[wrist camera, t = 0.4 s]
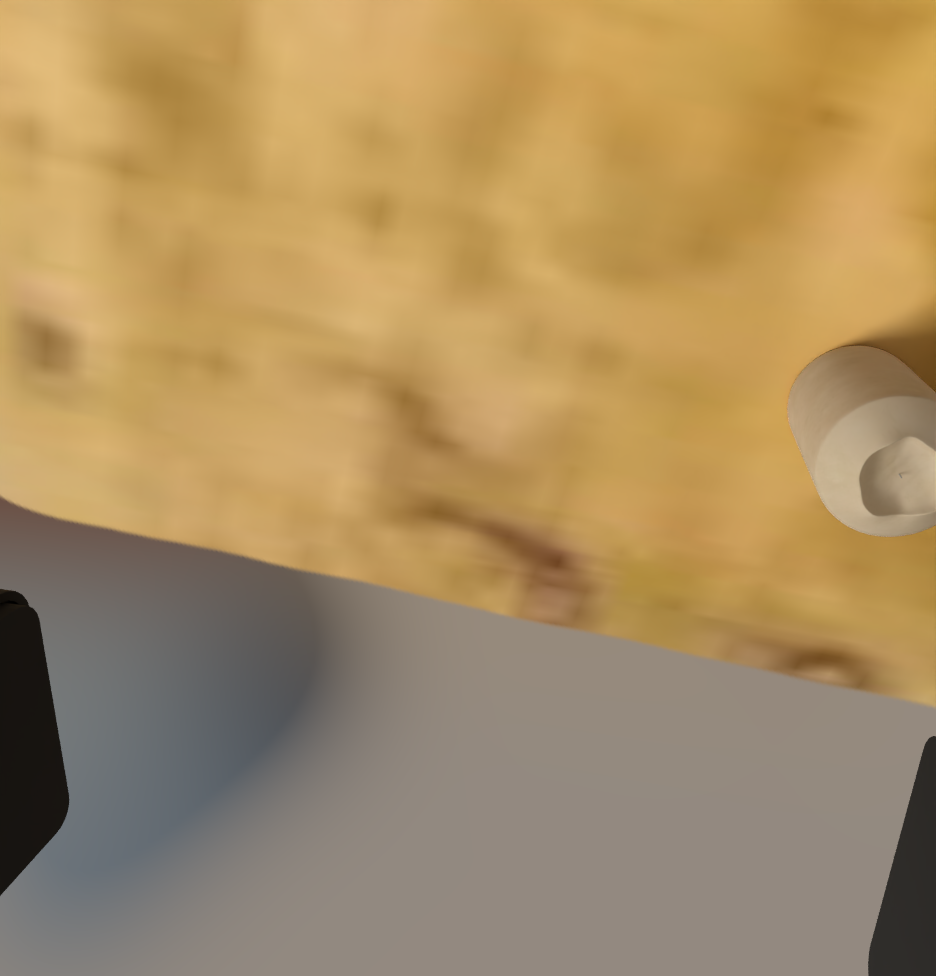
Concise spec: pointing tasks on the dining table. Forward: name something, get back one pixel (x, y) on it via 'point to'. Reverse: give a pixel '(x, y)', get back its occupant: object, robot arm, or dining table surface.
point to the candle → (868, 439)
